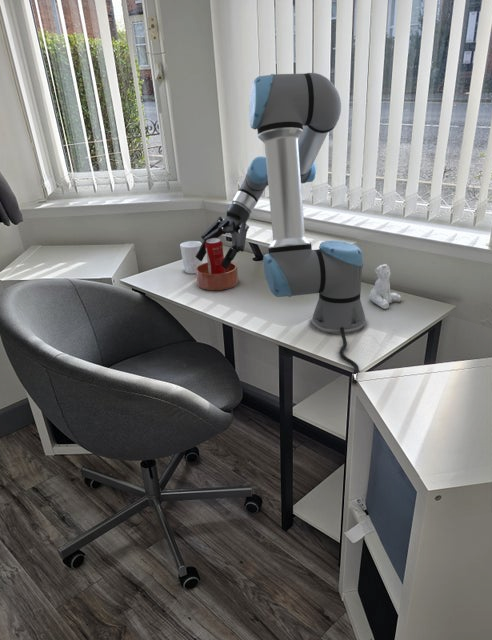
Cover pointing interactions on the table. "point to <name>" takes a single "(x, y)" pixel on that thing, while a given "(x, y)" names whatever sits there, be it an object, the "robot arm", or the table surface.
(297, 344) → the table surface
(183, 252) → the white cup
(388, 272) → the sitting furry creature
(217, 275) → the bowl
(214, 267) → the beverage can
